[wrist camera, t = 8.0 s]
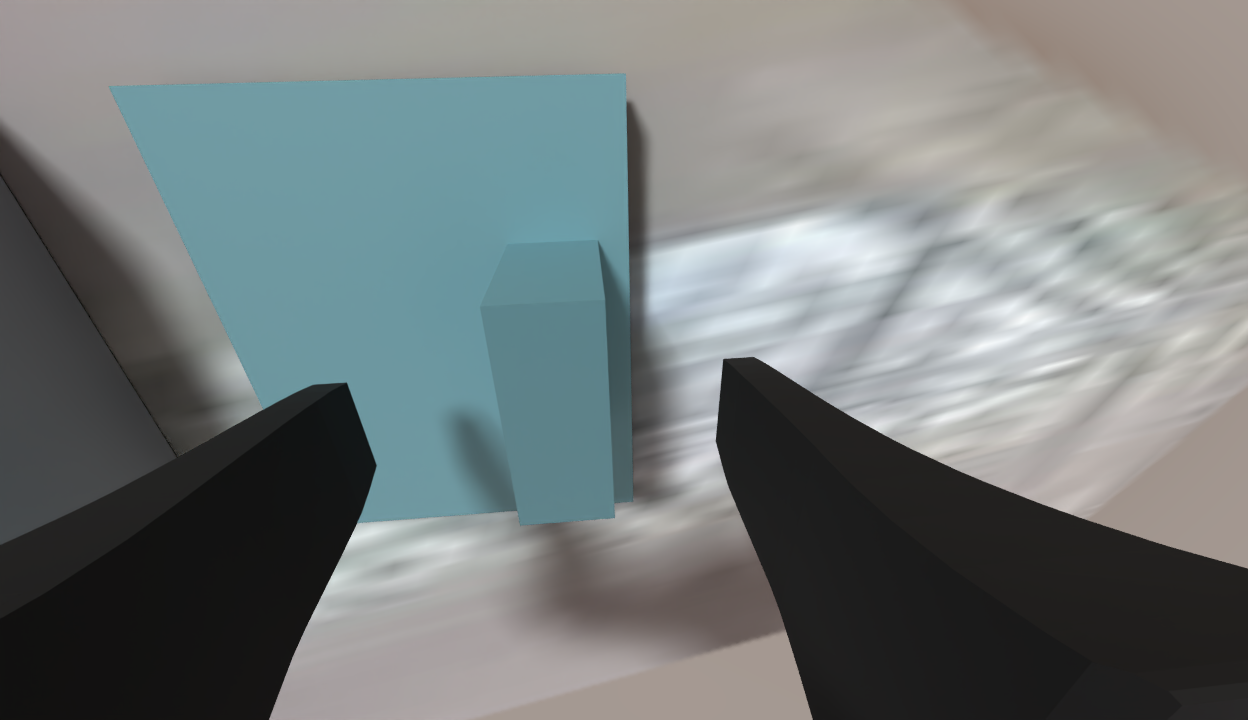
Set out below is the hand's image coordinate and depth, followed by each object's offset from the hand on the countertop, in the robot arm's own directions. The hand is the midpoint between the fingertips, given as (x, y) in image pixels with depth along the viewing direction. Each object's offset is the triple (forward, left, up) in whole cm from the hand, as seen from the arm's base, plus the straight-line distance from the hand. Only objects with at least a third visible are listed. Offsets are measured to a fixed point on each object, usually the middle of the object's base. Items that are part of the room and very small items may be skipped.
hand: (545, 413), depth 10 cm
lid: (0, +3, -4) cm, 5 cm away
